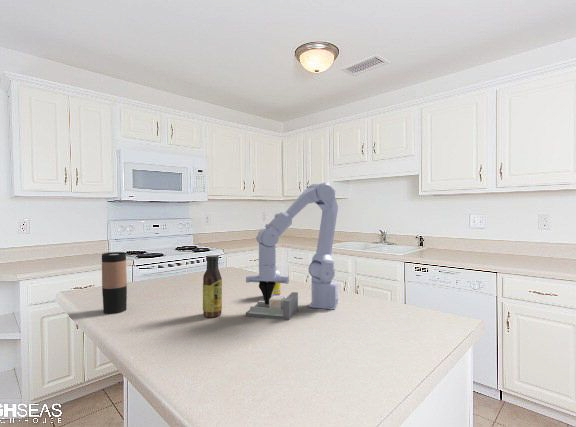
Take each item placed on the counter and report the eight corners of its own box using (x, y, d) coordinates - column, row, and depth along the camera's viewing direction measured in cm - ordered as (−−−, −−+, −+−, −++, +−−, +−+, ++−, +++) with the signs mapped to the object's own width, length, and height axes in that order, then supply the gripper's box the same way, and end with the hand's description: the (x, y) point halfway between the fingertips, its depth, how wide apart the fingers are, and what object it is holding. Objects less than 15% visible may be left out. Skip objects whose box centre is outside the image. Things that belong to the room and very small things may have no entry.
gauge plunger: (285, 307, 117) (284, 296, 117) (278, 315, 110) (277, 302, 110) (273, 306, 118) (273, 295, 118) (266, 314, 111) (266, 301, 111)
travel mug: (97, 312, 117) (96, 254, 117) (117, 306, 124) (116, 251, 123) (112, 315, 114) (110, 255, 113) (132, 309, 121) (131, 252, 120)
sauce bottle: (217, 318, 110) (216, 257, 110) (199, 317, 111) (198, 256, 111) (225, 312, 117) (224, 254, 116) (208, 311, 118) (207, 253, 117)
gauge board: (297, 309, 119) (297, 292, 119) (289, 319, 109) (289, 301, 108) (257, 306, 123) (257, 289, 123) (245, 315, 113) (245, 297, 113)
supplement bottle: (281, 294, 139) (281, 263, 138) (279, 299, 132) (279, 266, 132) (265, 294, 139) (264, 263, 139) (262, 299, 133) (261, 266, 132)
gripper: (290, 262, 119) (290, 301, 119) (249, 261, 121) (249, 299, 121) (287, 266, 112) (287, 307, 112) (244, 265, 114) (244, 305, 115)
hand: (267, 303), depth 116 cm, fingers closed
